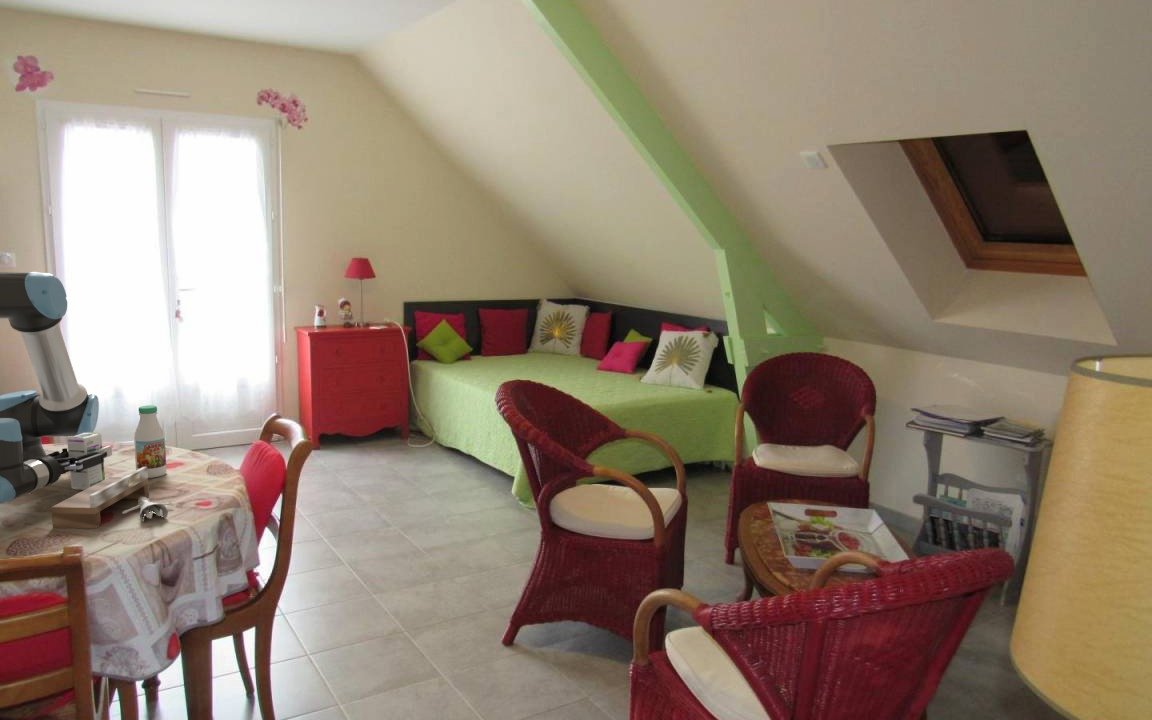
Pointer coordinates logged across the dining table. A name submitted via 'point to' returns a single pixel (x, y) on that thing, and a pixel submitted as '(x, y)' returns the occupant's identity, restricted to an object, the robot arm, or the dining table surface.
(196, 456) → the dining table surface
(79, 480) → the syrup box
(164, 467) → the milk bottle
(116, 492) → the shelf
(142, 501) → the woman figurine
